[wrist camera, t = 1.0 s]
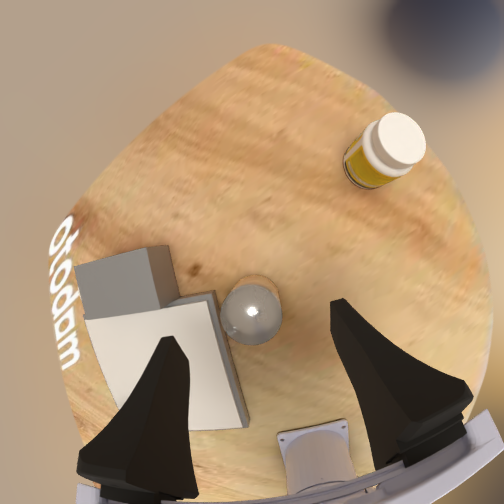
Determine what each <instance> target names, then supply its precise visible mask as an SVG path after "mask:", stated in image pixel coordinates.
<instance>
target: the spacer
mask: <svg viewBox="0 0 504 504" xmlns="http://www.w3.org/2000/svg"><path fill="white" fill-rule="evenodd" d="M220 319H221V323H222V326H223V328H224V330H225V332H226V333H227V334H228V335H229V336H230V337H231V338H232V339H233V340H235V341H237V342H239V343H241V344H245V345H259V344H262V343H265V342H267V341H269V340H270V339H271V338H273V337H274V336H275V335H276V333H277V332H278V330H279V328H280V326H281V323H282V309H281V303H280V298H279V292H278V289H277V287H276V286H275V284H274V283H273V282H272V281H271V280H270V279H268V278H266V277H264V276H261V275H249V276H246V277H244V278H242V279H241V280H239V281H238V282H237V283H236V285H235V286H234V288H233V289H232V290H231V292H230V293H229V295H228V296H227V297H226V299H225V300H224V302H223V304H222V307H221V312H220Z"/></svg>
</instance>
